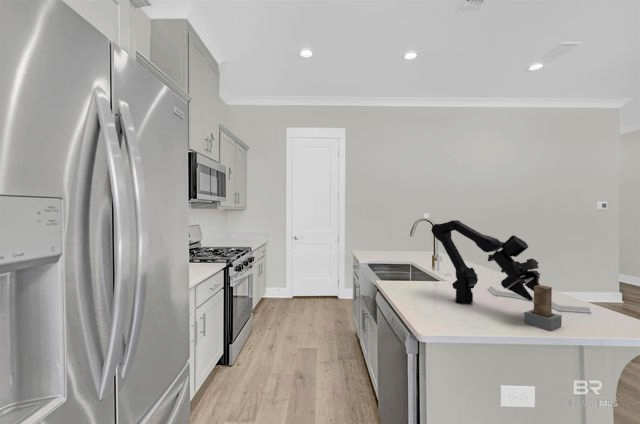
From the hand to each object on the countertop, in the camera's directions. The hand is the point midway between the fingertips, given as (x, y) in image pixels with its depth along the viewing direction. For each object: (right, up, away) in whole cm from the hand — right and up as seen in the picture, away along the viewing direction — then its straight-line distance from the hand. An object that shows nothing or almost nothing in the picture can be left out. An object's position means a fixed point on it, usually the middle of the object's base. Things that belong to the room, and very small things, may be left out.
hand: (538, 298), depth 110 cm
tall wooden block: (+1, -8, -1) cm, 8 cm away
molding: (+19, -10, +29) cm, 35 cm away
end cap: (+1, -9, -1) cm, 9 cm away
